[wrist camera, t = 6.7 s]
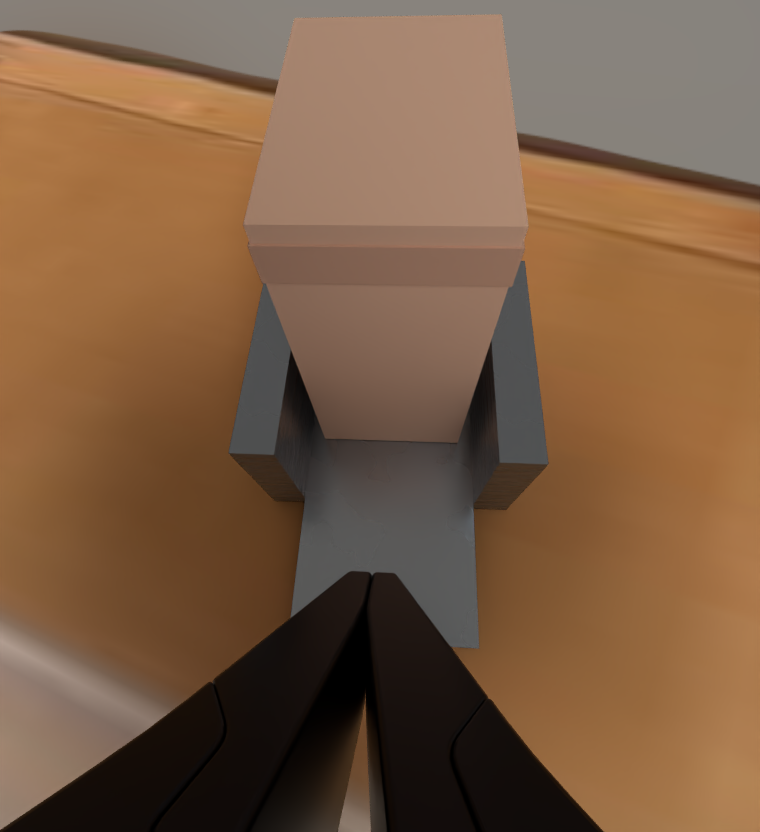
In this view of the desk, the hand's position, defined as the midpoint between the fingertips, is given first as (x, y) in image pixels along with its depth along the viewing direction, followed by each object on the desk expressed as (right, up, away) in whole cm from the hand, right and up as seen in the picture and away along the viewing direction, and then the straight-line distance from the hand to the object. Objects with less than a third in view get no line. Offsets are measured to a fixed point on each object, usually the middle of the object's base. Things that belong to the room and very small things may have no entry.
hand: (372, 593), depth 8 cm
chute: (0, +1, +9) cm, 9 cm away
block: (+1, +5, +11) cm, 12 cm away
